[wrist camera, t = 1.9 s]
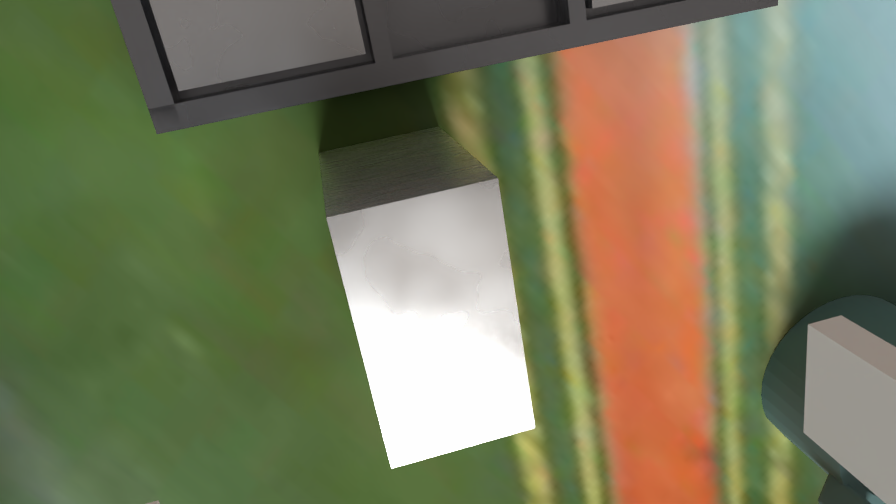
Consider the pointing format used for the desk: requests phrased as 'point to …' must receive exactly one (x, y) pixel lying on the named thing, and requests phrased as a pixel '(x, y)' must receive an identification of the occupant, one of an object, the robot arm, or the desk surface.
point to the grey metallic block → (428, 291)
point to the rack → (356, 44)
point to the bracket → (785, 388)
